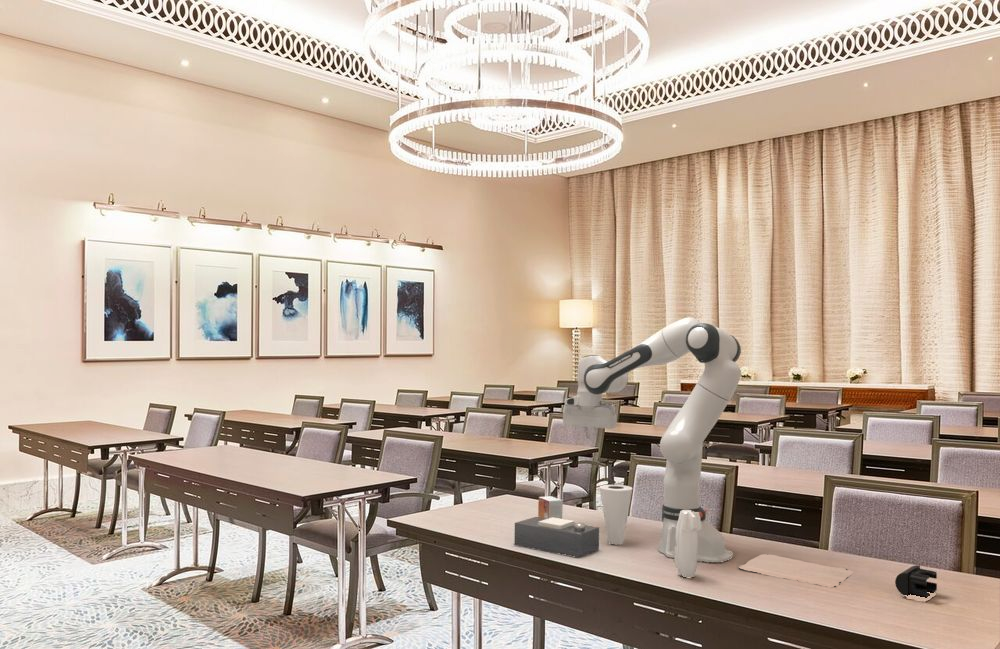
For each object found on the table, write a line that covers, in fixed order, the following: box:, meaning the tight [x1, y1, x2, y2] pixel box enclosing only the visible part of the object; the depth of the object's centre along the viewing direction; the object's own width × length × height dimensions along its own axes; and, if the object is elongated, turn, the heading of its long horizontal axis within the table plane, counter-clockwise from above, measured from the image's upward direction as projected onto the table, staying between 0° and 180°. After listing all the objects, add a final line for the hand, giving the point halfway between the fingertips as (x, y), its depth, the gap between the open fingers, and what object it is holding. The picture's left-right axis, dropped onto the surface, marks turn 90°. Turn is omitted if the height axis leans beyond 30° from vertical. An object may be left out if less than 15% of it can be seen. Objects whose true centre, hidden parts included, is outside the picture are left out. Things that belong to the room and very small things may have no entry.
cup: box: [599, 484, 633, 545], centre depth 243 cm, size 11×11×18 cm
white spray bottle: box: [674, 510, 702, 578], centre depth 207 cm, size 7×18×7 cm
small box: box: [537, 495, 564, 519], centre depth 262 cm, size 8×6×10 cm
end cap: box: [894, 565, 938, 598], centre depth 192 cm, size 10×7×7 cm
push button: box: [538, 517, 576, 529], centre depth 236 cm, size 8×8×7 cm
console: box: [513, 516, 600, 559], centre depth 236 cm, size 24×12×9 cm, turn 53°
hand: (589, 440), depth 263 cm, fingers closed
